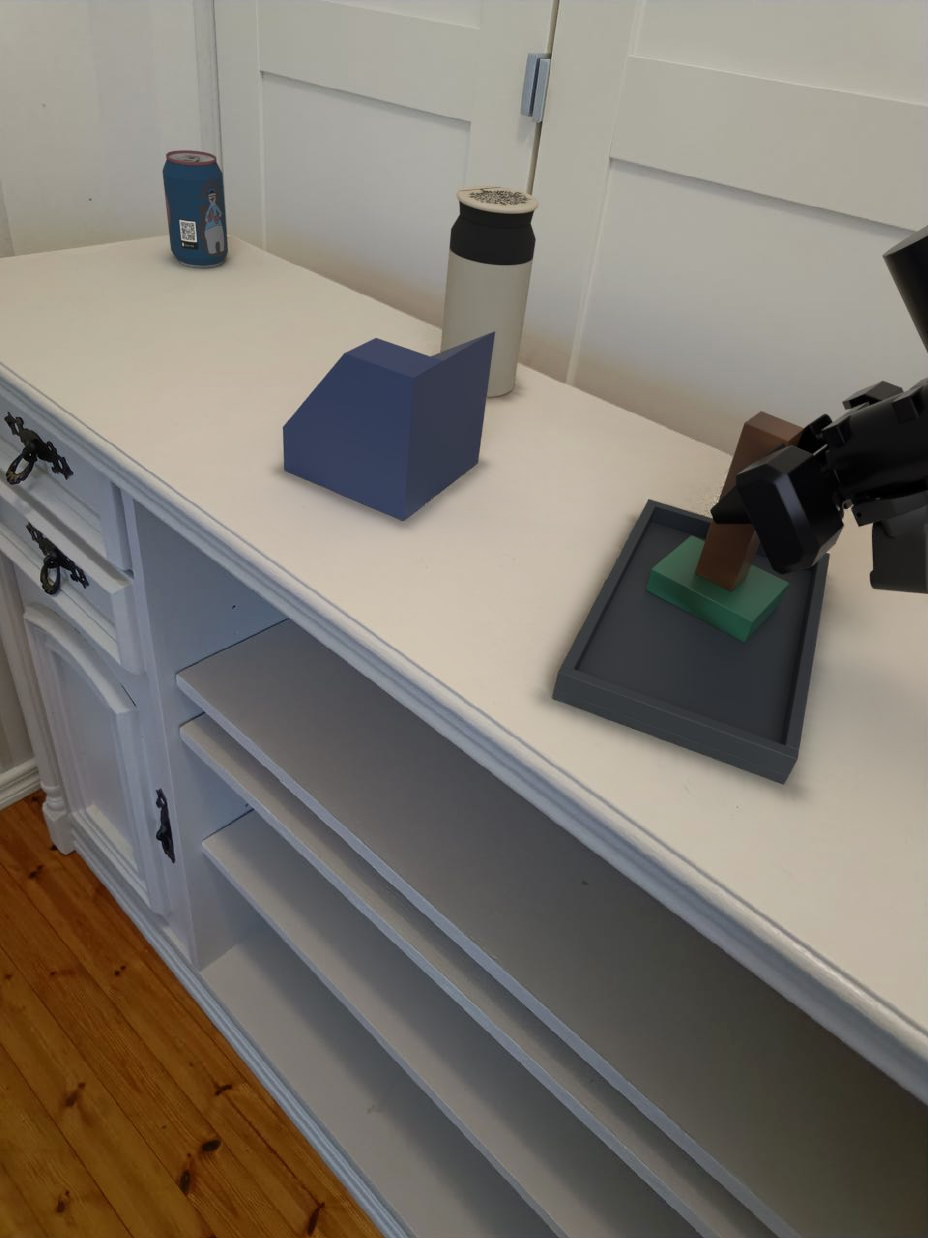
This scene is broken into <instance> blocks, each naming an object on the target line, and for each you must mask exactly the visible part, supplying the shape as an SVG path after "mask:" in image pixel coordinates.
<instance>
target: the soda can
mask: <svg viewBox="0 0 928 1238" xmlns="http://www.w3.org/2000/svg"><path fill="white" fill-rule="evenodd" d="M165 159H166V160H165V162H164V165H163V167H162V178H163V179H162V180H163V189H164V199H165V207H166V217H167V225H168V235H169V243H170V244H169V245H170V251H171V253H172V255H173V256H174V257H175V259H176V261H178V263H179V264H181V265H183V266H186V267H189V268H194V269H195V268H197V269H211V268H215V267H216V268H217V267H220V266H222V264H223V263H224V262H225V259H226V257H227V256H228V253H229V243H228V229H227V218H226V214H227V213H226V203H225V201H226V200H225V191H224V190H225V187H224V176H223V175H224V174H223V172H222V170H221V167H220V166H219V164H218V162H217V157H216V155H214V154H213V153H210V152H207V151H200V150H192V149H191V150H188V149H187V150H185V149H182V150H181V149H180V150H179V149H178V150H171V151H168V152H167V153H166V154H165Z"/></svg>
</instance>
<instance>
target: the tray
mask: <svg viewBox="0 0 928 1238" xmlns="http://www.w3.org/2000/svg"><path fill="white" fill-rule="evenodd" d="M712 519H713V517H710V516H706V515H703V514H700V513H696V512H693V511H691V510H686V509H683V508H681V507H676V506H673V505H670V504H666V503H663V502H661V501H657V500H655V499H650V498H648V499H647V501H646V503H645V505H644V506H643V509H642V510H641V512H640V515H639V516H638V518H637V520H636V522H635V524H634V526H633V528H632V529H631V531H630V533H629V536H628V538H627V539H626V541H625V543H624V545H623V547H622V549H621V551H620V553H619V554H618V556H617V559H616V560H615V563H614V564H613V566H612V568H611V570H610V571H609V574H608V576H607V578H606V580H605V581H604V583H603V585H602V587H601V588H600V591H599V593H598V595H597V597H596V598H595V601H594V602H593V604H592V606H591V608H590V610H589V612H588V614H587V616H586V618H585V619H584V622H583V624H582V626H581V627H580V630H579V631H578V633H577V635H576V637H575V639H574V641H573V643H572V644H571V646H570V648H569V650H568V651H567V654H566V656H565V658H564V660H563V662H562V664H561V666H560V668H559V669H558V671H557V676H556V680H555V683H554V688H553V692H552V696H551V698H552V699H553V700H556V701H558V702H561V703H564V704H566V705H570V706H572V707H574V708H577V709H580V710H583V711H585V712H587V713H591V714H593V715H596V716H599V717H602V718H604V719H606V720H610V721H612V722H615V723H618V724H620V725H623V726H625V727H628V728H631V729H633V730H636V731H639V732H641V733H644V734H647V735H650V736H652V737H654V738H658V739H661V740H663V741H666V742H668V743H671V744H674V745H677V746H679V747H682V748H685V749H688V750H690V751H693V752H695V753H697V754H701V755H703V756H705V757H709V758H712V759H715V760H717V761H719V762H722V763H724V764H727V765H730V766H733V767H736V768H738V769H741V770H744V771H746V772H749V773H751V774H755V775H758V776H760V777H763V778H765V779H768V780H771V781H773V782H776V783H779V784H782V785H784V784H786V782H787V781H788V778H789V776H790V775H791V772H792V771H793V769H794V767H795V766H796V763H797V761H798V760H799V754H800V748H801V747H800V746H801V742H802V741H801V740H802V734H803V728H804V720H805V716H806V709H807V704H808V697H809V690H810V685H811V678H812V671H813V664H814V659H815V652H816V646H817V639H818V633H819V628H820V621H821V616H822V609H823V602H824V596H825V595H824V594H825V589H826V583H827V576H828V570H829V564H830V557H831V553H829V552H827V553H826V554H825V555H823V556H822V557H821V558H820V559H819V560H818V561H817V562H816V563H815V564H814V565H813V566H812V567H809V568H805V569H802V570H798V571H794V572H790V573H786V574H783V575H781V574H779V573H778V572H776V571H774V570H773V568H772V566H771V564H770V562H769V560H768V557H767V555H766V553H765V551H764V549H763V546H762V544H761V542H760V544H759V547H758V549H757V552H756V555H755V557H754V560H753V562H752V565H753V566H755V567H757V568H760V569H762V570H764V571H766V572H768V573H770V574H772V575H774V576H776V577H778V578H780V579H782V580H784V581H786V582H788V583H789V585H788V587H787V589H786V592H785V594H784V596H783V599H782V601H781V603H780V605H779V606H778V607H777V608H776V609H775V610H774V611H773V612H772V613H771V614H770V615H769V616H768V617H767V619H766V620H765V621H764V622H763V623H762V624H761V625H760V626H759V627H758V628H757V629H756V630H755V631H754V633H753V634H752V635H751V636H750V637H749V638H748V639H747V640H746V641H745V642H742V641H740V640H738V639H736V638H734V637H733V636H731V635H729V634H727V633H725V632H723V631H721V630H720V629H718V628H716V627H714V626H712V625H710V624H708V623H707V622H705V621H703V620H701V619H699V618H697V617H695V616H694V615H692V614H690V613H688V612H686V611H684V610H682V609H681V608H679V607H677V606H675V605H673V604H671V603H669V602H668V601H666V600H664V599H662V598H660V597H658V596H656V595H655V594H653V593H651V592H649V591H647V590H646V586H647V583H648V579H649V576H650V572H651V569H652V568H653V567H654V566H655V565H657V564H658V563H659V562H660V561H661V560H663V559H664V558H665V557H666V556H667V555H669V554H670V553H671V552H672V551H673V550H675V549H676V548H677V547H678V546H679V545H681V544H682V543H683V542H684V541H685V540H687V539H688V538H689V537H690V536H694V537H696V538H698V539H700V540H702V541H705V540H706V537H707V534H708V531H709V528H710V525H711V522H712Z"/></svg>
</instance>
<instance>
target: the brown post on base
mask: <svg viewBox="0 0 928 1238" xmlns="http://www.w3.org/2000/svg"><path fill="white" fill-rule="evenodd" d="M804 428H805V427H803V426H800V425H797V424H795V423H792V422H790V421H788V420H785V419H782V418H780V417H777V416H775V415H772V414H770V413H768V412H765V411H763V410H760V411H758V412H757V413H756V414H755V415H753V416H752V417H750V418H749V419H747V420H746V421H745V422H744V423H743V426H742V429H741V432H740V435H739V438H738V441H737V444H736V448H735V450H734V453H733V457H732V460H731V462H730V465H729V468H728V470H727V474H726V477H725V480H724V483H723V486H722V489H721V492H720V496H719V498H718V501H717V503H718V502H719V501H720V500H721V499H722V498H723V497H724V496H725V495H726V494H727V493H728V492H729V491H730V490H731V489H732V488H733V487H734V486H735V485H736V475H737V474H738V473H740V472H741V471H743V470H744V469H746V468H747V467H748V466H750V465H751V464H753V463H754V462H756V461H757V460H759V459H761V458H762V457H763V456H764V455H765V454H766V453H768V452H769V451H771V450H772V449H774V448H775V447H777V446H778V445H779V444H781V443H783V442H784V443H785V445H786V447H788V446H791V445H793V446H795V447H797V446H798V443H799V441H800V438H801V435H802V433H803V430H804ZM759 544H760V540H759V538H758V535H757V533H756V531H755V529H754V527H753V524H716V523H715V522H714V520H713V519H712V522H711V525H710V528H709V531H708V534H707V537H706V540H705V541H702V540H700V539H698V538H696V537H694V536H690V537H689V538H688V539H687V540H685V541H684V542H683V543H682V544H681V545H679V546H678V547H677V548H676V549H675V550H673V551H672V552H671V553H670V554H669V555H667V556H666V557H665V558H664V559H663V560H661V561H660V562H659V563H658V564H657V565H655V566H654V567H653V568H652V569H651V572H650V576H649V579H648V583H647V586H646V590H647V591H649V592H651V593H653V594H655V595H656V596H658V597H660V598H662V599H664V600H666V601H668V602H669V603H671V604H673V605H675V606H677V607H679V608H681V609H682V610H684V611H686V612H688V613H690V614H692V615H694V616H695V617H697V618H699V619H701V620H703V621H705V622H707V623H708V624H710V625H712V626H714V627H716V628H718V629H720V630H721V631H723V632H725V633H727V634H729V635H731V636H733V637H734V638H736V639H738V640H740V641H742V642H745V641H746V640H747V639H748V638H749V637H750V636H751V635H752V634H753V633H754V631H755V630H756V629H757V628H758V627H759V626H760V625H761V624H762V623H763V622H764V621H765V620H766V619H767V617H768V616H769V615H770V614H771V613H772V612H773V611H774V610H775V609H776V608H777V607H778V606H779V605H780V603H781V601H782V599H783V596H784V594H785V592H786V589H787V587H788V585H789V583H788V582H786V581H784V580H782V579H780V578H778V577H776V576H774V575H772V574H770V573H768V572H766V571H764V570H762V569H760V568H757V567H755V566H753V565H752V562H753V560H754V557H755V555H756V552H757V549H758V547H759Z"/></svg>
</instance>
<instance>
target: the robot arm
mask: <svg viewBox="0 0 928 1238" xmlns="http://www.w3.org/2000/svg"><path fill="white" fill-rule="evenodd" d="M882 258H883V260H884V263H885V265H886V267H887V269H888V271H889V275H890V276H891V278H892V280H893V282H894V284H895V286H896V288H897V291H898V293H899V295H900V297H901V299H902V302H903V304H904V306H905V308H906V310H907V312H908V314H909V317H910V319H911V321H912V323H913V325H914V327H915V329H916V332H917V334H918V336H919V338H920V340H921V342H922V344H923V346H924V349H925V350H926V353H927V354H928V224H927V225H926V226H924V227H922V228H920V229H919V230H917V231H915V232H914V233H912V234H911V235H909V236H908V237H906V238H904V239H902V240H901V241H899V242H898V243H896V244H895V245H893V246H892V247H891V248H889V249H888V250H887V251H885V252H884V253H883V254H882ZM841 403H842V405H843V408H844V410H845V411H846V412H844V414H842V415H841V416H839V417H838V418H836V419H835V420H834V421H833V418H832V417H831V416H830V415H829V414H828V413H823V414H821V415H820V416H819V417H817V418H815V419H814V420H813V421H811V422H810V423H808V424H807V425H806V426H805V427H803V428H804V430H803V433H802V435H801V438H800V441H799V443H798V446H797V447H795V446H793V445H791V446H788V447H786V445H785V443H784V442H783V443H781V444H779V445H778V446H777V447H775V448H774V449H772V450H771V451H769V452H768V453H766V454H765V455H764V456H763V457H762V458H761V459H759V460H757V461H756V462H754V463H753V464H751V465H750V466H748V467H747V468H746V469H744V470H743V471H741V472H740V473H738V474H737V475H736V485H735V486H734V487H733V488H732V489H731V490H730V491H729V492H728V493H727V494H726V495H725V496H724V497H723V498H722V499H721V500H720V501H719V500H718V501H719V502H718V501H717V502H716V503H715V504H714V505H713V506H712V507H711V508H710V509H709V513H710V515H711V518H713V520H714V522H715V523H716V524H753V527H754V529H755V531H756V533H757V535H758V538H759V540H760V542H761V544H762V546H763V549H764V551H765V553H766V555H767V557H768V560H769V562H770V564H771V566H772V568H773V570H774V571H776V572H778V573H779V574H781V575H783V574H786V573H790V572H794V571H798V570H802V569H805V568H809V567H812V566H813V565H814V564H815V563H816V562H817V561H818V560H819V559H820V558H821V557H822V556H823V555H825V554H826V553H829V551H830V550H831V549H832V548H833V547H834V546H835V545H836V544H837V542H838V540H839V538H840V535H841V533H842V531H843V529H844V527H845V523H844V521H843V520H844V518H845V510H848V509H849V508H850V507H851V508H850V511H851V513H852V515H853V518H854V520H855V522H856V524H857V527H858V528H861V527H864V526H868V525H871V524H872V526H871V557H872V570H871V571H870V572H869V583H870V587H871V588H872V590H879V591H891V592H901V593H912V594H921V595H922V594H923V595H928V377H925V378H923V379H921V380H919V381H918V382H916V383H915V384H914V385H912V386H911V387H909V389H907V390H905V391H904V389H903V387H902V386H899V385H897V384H892V383H891V382H888V381H885V380H881V381H879V382H876V383H873V384H872V385H869V386H867V387H865V388H862V389H860V390H858V391H855V392H854V393H853V394H851V395H850V396H848V397H847V398H845V399H844V400H842V401H841Z"/></svg>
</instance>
